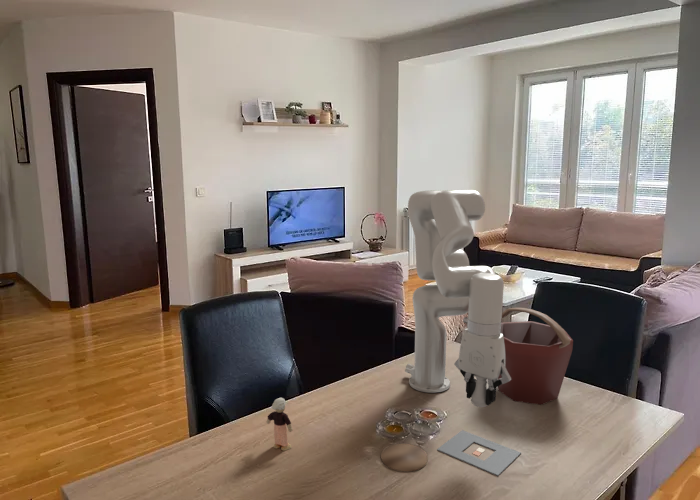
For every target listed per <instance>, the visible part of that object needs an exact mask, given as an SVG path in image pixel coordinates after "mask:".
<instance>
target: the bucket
mask: <svg viewBox="0 0 700 500" xmlns="http://www.w3.org/2000/svg"><path fill="white" fill-rule="evenodd" d="M512 312H522V313H526V314H530V315H533V316H535V317H537V318H539V319H540V320H542V321H543V322H544V323H545V324H544V323H541V322H537V321H531V320H530V321H529V320H528V321H509V322H506V321H505V322H502V321H501V334H503V337H504V343H505V368H506V369H507V371H508V373H509V375H510V377H511V380H510V381H509V382H507V383H504V384H501V385H500V386H498V387H497V389H498V391H499V392H500V393H501V394H503V395H504V396H506V397H507V398H509V399H510V400H512V401H513V402H516V403H517V402H519V403H525V404H533V405H540V406H541V405H544V404H547V403H549V402H552V401H554V400H557V399H558V398H559V394H560V392H561V388H562V386H563V382H564V379H565V374H566V373H567V368H568V366H569V364H570V359H571V356H572V352H573V346H574V340H573V338H572V337H571V336H570V334H568V332H567V331H566V330H565V329H564V328H563V327H562V326H561V325H560V324H559V323H558V322H557V321H555V320H554V319H553V318H551V317H550V316H549V315H547V314H546V313H542V312H541V311H537V310H534V309H532V308H526V307H510V308H506V309H505V310H504V311H502V319H503V318H506V317H507V316H509V315H510V314H511V313H512ZM500 378H502V376H501V374H500V375H499V377H498V379H500Z"/></svg>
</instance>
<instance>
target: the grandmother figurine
mask: <svg viewBox="0 0 700 500" xmlns="http://www.w3.org/2000/svg"><path fill="white" fill-rule="evenodd" d="M271 409H272V410H274V411H271V412H270V413H269V414H268V415H267V419H266V421H265V422H266V424H268V425H269V424H271V421H273V423H274V424H273V425H274V426H273V437H274V444H273V449H280V450H282V452H283V451H288V450H291V449H292V448H293V447H292V444H290V443H289V441H288V432H289V433H291V432H293V430H294V429H293V427H292V422H291V419H290V418H289V416H288V414H287V413H286V412H284V411H285V409H286V400H285V398H284V397H279V398H276V399H274V401H273V403H272V405H271ZM287 430H288V431H287Z"/></svg>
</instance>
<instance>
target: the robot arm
mask: <svg viewBox="0 0 700 500" xmlns="http://www.w3.org/2000/svg"><path fill="white" fill-rule="evenodd" d="M485 211H486V204H485V200H484V197H483V195H482V194H481V193H480V192H479V191H478V190H475V189H454V190H452V189H451V190H448V189H447V190H441V189H440V190H439V189H438V190H437V189H435V190H422V191H417V192H414V193H412V194H411V195H410V197H409V198H408V203H407V213H408V218H409V221H410V224H411V227H412V230H413V233H414V242H415V243H414V245H415V246H414V247H415V248H414V249H415V250H414V251H415V267H416V273H417V276H418V278H419V279H420V280H423V281H435V282H436V284H430V285H429V284H427V285H422V286H419V287H418V288H416V289H415V290H414V292H413V294H412V306H413V313H414V326H415V327H414V365H413V364H411V363H407V365H405V369H404V372H405V373H407V374H410V375H411V376H410V377H409V380H408V384H409V386H410V388H412V389H414V390H415V391H419V392H422V393H429V394H434V393H441V392H444V391H446V390H448V389H450V387H451V381H450V379H449V378H448V377H447V376H446V366H447V365H446V364H447V363H446V360H447V329H446V326H445V325H444V324H443V322H442V321H441V320H440V318H443V317H453V316H454V317H455V316H464V315H467V317H466V316H464V317H463V320H462V322H463V323H465V324H466V328H464V330H463V333H462V337H461V341H460V346H459V354H458V358H457V360H456V361H455V362H454V366H455V367H456V368H457V369H458V370H459V372H460V374H461V376H462V377H463V381H464V382H465V393H466V398H467V399H472V398H471V396H472V394H473V392H474V391H475V387H476V382H475V380H476V378H475V375H477V376H480V377H484V378H487V386H488V388H487V390H486V405H487V406H490V405H491V404H493V402H495V401H496V397H497V389H498V386H500V385H501V384H504V383H507V382H509V381H510V380H511V377H510V375H509V373H508V371H507V369H506V368H505V343H504V337H503V334H501V323H502V320H503V318H502V313H503V304H504V303H503V299H504V279H503V277H501V276H500V275H499V274H496V272H495V270H494V269H493V268H492V267H490V266H487V265H470V260H469V258H468V255H467V253H466V252H465V250H463V248H466V247H467V246H469V244H471V243H472V241H473V238H474V235H475V233H474V229H473V227H472V224H471V221H479V220H481V219H482V218H483V216H484V215H485ZM500 374H501V376H502V378H500V379H498V377H499V375H500Z"/></svg>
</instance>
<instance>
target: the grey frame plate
mask: <svg viewBox="0 0 700 500" xmlns="http://www.w3.org/2000/svg"><path fill="white" fill-rule="evenodd" d="M473 444H477V445H479V446H482V447H483V448H481V447H478V448H477V449H476V450H475V451H473V452H472V455H470V454H468V453H466V452H464V451H465V450H467V449H468V448H469V447H470V446H472V445H473ZM485 448H487V449H489V450H492V451H493V453H491V454H490V455H489V456H488V457H487V458H486V459H485V460H483V459H481V458H478V457H479V456H480V455H481V454H482V453H484V452H485V451H486V449H485ZM436 451H438V452H440V453H443V454H445V455H446V456H447V455H448V456H449V457H452V458H455V459H457V460H460V461H462V462H464V463H465V464H469V465H471V466H473V467H475V468H478V469H480V470H483V471H484V472H487V473H489V474H492V475H494V476H497V477H499V476H500V475H501V474H502V473H503V472H504V471H505V470H506V469H508V467H509V466H510V465H511V464H512V463H513V462H514V461H516V459H517V458H519V457H520V455H522V452H521V451H518V450H516V449H512V448H510V447H508V446H505V445H502V444H500V443H497V442H494V441H492V440H489V439H487V438H484V437H481V436H479V435H477V434H474V433H471V432H468V431H465V430H463V429H462V430H460V431H458V432H457V433H456V434H455V435H454V436H453V437H451V438H450V439H448V440H447V441H446V442H444V443H443V444H442V445H441V446H439V447H438V448H437V450H436ZM474 455H475V456H477V457H475V456H474Z"/></svg>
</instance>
